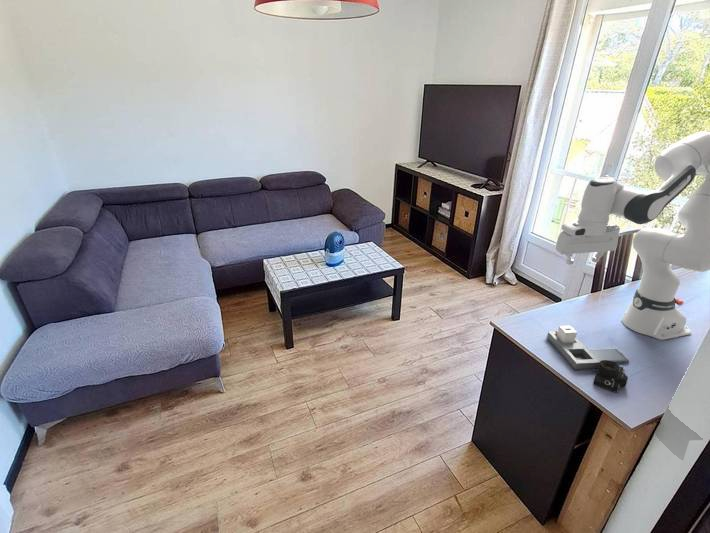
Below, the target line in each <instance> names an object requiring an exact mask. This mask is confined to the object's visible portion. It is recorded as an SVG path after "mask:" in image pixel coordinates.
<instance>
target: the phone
mask: <svg viewBox="0 0 710 533" xmlns="http://www.w3.org/2000/svg"><path fill="white" fill-rule="evenodd" d="M587 350H588V351H589V352H590V353H591V354H592V355H593V356H594V357H595V358H596V359H597V360H598V361H599V362H600V361H603V360H609V361H612V362H614V363H616V364H617V365H619V364H629V362H630V359H628V358H627V357H626V356H625V355H624V354H623V353H622V352H621V351H619V350H618V349H617V348H608V349H605V348H603V349H587Z"/></svg>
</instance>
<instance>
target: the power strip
mask: <svg viewBox="0 0 710 533" xmlns="http://www.w3.org/2000/svg"><path fill="white" fill-rule="evenodd" d="M557 333H558V329H557V330H554V331H553V330H552V331H551V330H550V331H548V332H547V336H546V339H547V341H548V342H549V343H550V344H551V345H552V346H553V347H554V348H555V349H556V351H557V352H558V353H559V354H560V355H561V356H562V357H563V359H564V360H565V361H566V362H567V363H568V364H569V365H570V367H571V368H572V369H573V371H589V370H598V367H599V364H600V362H599V361H598V360H597V359H596V358H595V357H594V356H593V355H592V354H591V353H590V352H589V351H588V350H589V349H588V348H586V346H585V345H584V344H583V343H582V342H581V341H580V340H579V339H578V338H577V337H576V338H575V341H574V343H562V342H561V341H560V340H559V339H558V338H557V337H556V336H557Z"/></svg>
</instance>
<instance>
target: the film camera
mask: <svg viewBox="0 0 710 533" xmlns="http://www.w3.org/2000/svg"><path fill="white" fill-rule="evenodd" d="M592 384H593V385H594V386H597V387H601V388H603V389H605V390H609V391H611V392H615V393H618V392H619V391H620V389H621V388H622V389H624V388H626V387H627V385H628V376H627V374H625V369H624V366H620V365H619V364H616V363H614V362H612V361H609V360H603V361H600V364H599V367H598V369H596V372H595V376H594V379H593V382H592Z"/></svg>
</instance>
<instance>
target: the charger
mask: <svg viewBox="0 0 710 533" xmlns="http://www.w3.org/2000/svg"><path fill="white" fill-rule="evenodd" d="M557 330H558V333H557V336H556V337H557V338H558V339H559V340H560V341H561V342H562V343H574V341H575V338H577V335H578V331H577V330H576V329H575V328H574V327H572V326H571V325H559V326H558V329H557Z"/></svg>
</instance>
